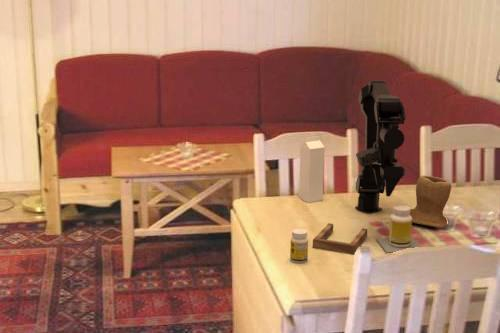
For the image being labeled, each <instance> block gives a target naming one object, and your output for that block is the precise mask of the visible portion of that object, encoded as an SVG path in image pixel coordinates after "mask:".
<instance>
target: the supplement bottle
mask: <svg viewBox="0 0 500 333" xmlns="http://www.w3.org/2000/svg"><path fill="white" fill-rule="evenodd" d="M291 235H292V236H291V237H290V256H289V258H290V261H291V262H293V263H296V264H302V263H303V264H304V263H306V262H308V252H309V251H308V250H309V238H308V231H307V230H306V229H302V228H294V229H292V232H291Z"/></svg>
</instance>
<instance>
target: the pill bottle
mask: <svg viewBox="0 0 500 333" xmlns="http://www.w3.org/2000/svg"><path fill="white" fill-rule="evenodd" d="M410 209H411V207H409V206H407V205H401V204H399V205H398V204H397V205H395V206H393V211H392V212H393V213H391V215H390V217H389V231H388V232H389V233H388V238H389V244H390V245H392V246H394V247H408V246H409V245H410V243H411V237H412V227H413V223H412V217H411V215H409V214H410Z"/></svg>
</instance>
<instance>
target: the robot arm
mask: <svg viewBox="0 0 500 333" xmlns="http://www.w3.org/2000/svg"><path fill="white" fill-rule="evenodd" d="M358 94H359V95H358V104H359V105H360V111H361V113H362V114H363V116H364V117H365V118H364V119H365V120H364V122H365V124H364V127H365V128H364V132H365V133H364V150H362V151H360V152H357V153H355V156H356V159H357V161H358V162H357V163H358V164H359V165H360V169H359V174H357V175H358V176H357V178H356V181H355V190H356V193H357V194H358V197H357V206H355V207H354V209H356V210H358V211H361V212H364V213H366V214H371V213H375V212H379V211H383V208H382V207H380V195H381V194H384V193H385V196H386V197H390V196H392V194H393V192H394V190H395V188H396V187H397V185H398V183H399V182H400V180H401V179H402V178H403V177H404V176H405V172H406V169H405V168H404V167H403V166H402V165H401V164H400V163H398V159H397V157H396V155H397V154H396V153H397V150H398V149H399V148H400V147H402V145H403V144H404V142H405V135H404V133H403V132H402V130H401V129H400V127H399V126H400V125H404V124H405V121H406V111H405V105H404V104H403V101H401V99H400V97H398V96H396V95H392V94H391V92H390V91H389V89H388V88H387V82H386V81H384V80H371V81H370V80H369V81H368V84H366V85H365V86H363V87H361V89H360V91H359V93H358Z"/></svg>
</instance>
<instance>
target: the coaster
mask: <svg viewBox="0 0 500 333" xmlns="http://www.w3.org/2000/svg"><path fill="white" fill-rule="evenodd" d="M375 241H376V243H377V244H378V245H379V246H380V248H381V249H382V250H383V251H384V253H385V254H386V255H388V254H387V253H393V252H396V251H399V250H403V249H406V248H415V247H422V246H421V245H420V244H419V243H418V242H417V240H416V239H414V237H413V236H411V243H410V245H409V246H408V247H394V246H392V245H390V244H389V237H376V238H375Z"/></svg>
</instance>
